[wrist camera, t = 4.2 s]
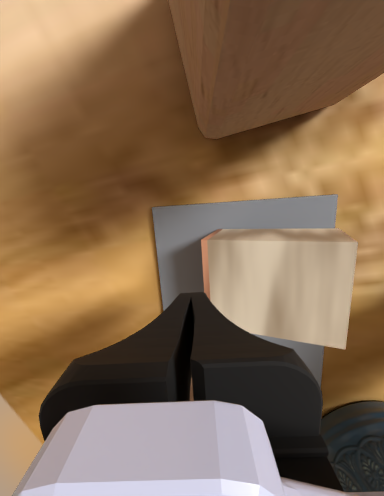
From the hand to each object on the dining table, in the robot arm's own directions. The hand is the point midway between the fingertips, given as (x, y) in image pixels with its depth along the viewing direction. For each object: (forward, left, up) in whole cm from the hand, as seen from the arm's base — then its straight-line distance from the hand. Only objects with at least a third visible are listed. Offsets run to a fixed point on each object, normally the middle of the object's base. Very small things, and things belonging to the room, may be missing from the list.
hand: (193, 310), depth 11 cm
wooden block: (-5, -15, -8) cm, 18 cm away
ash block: (-1, 0, -5) cm, 5 cm away
